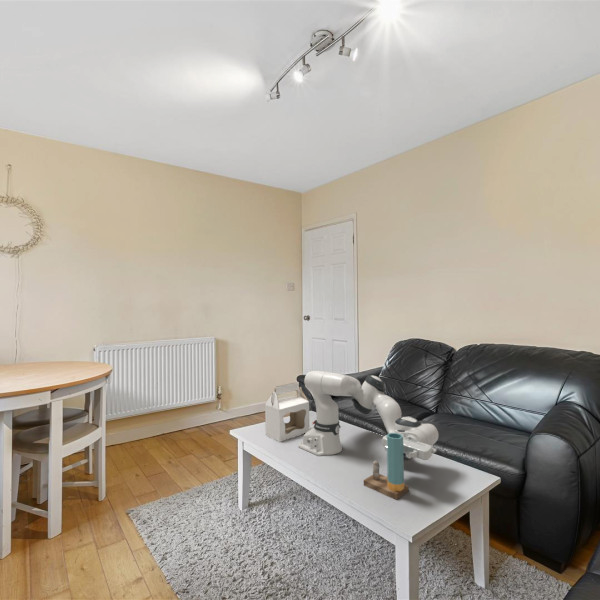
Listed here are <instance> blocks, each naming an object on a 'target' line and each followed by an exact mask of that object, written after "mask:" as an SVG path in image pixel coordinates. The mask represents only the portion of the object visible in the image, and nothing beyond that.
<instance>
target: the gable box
mask: <svg viewBox="0 0 600 600" xmlns="http://www.w3.org/2000/svg"><path fill="white" fill-rule="evenodd" d="M273 390H274V391H273V392H272V393H271V395H270V397H269V398H268V399H267V401H266V402H265V405H264V409H265V413H264V414H265V415H264V416H265V417H264V418H265V422H264V423H265V424H264V425H265V436H266V435H267V436H266V437H268V436H269V437H268V438H270V437H271V439H272V438H273V440H275V441H277V442H279V443H281V442H284V441H287V440H290V439H292V437H293V438H296V437H298V435H299V436H302V435H305V434H304V433H306V432H308V431H309V430H310V400H309V399H308V397H307V396H306V394H305V393H304V391H303V388H302V386H300V385H299V382H298V381H297V382H292V383H288V384H282V385H278V386H275V387H274V388H273ZM290 392H291V393H292V392H295V394H294V397H290V398H286V399H282V400H281V399H280V400H279V398H278V395H282V394H285V393H286V394H287V393H290ZM287 414H289V422H285V421H284V417H285V416H286V415H287ZM301 434H302V435H301ZM295 436H296V437H295ZM289 438H290V439H289ZM286 439H287V440H286ZM283 440H284V441H283Z"/></svg>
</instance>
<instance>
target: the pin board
mask: <svg viewBox="0 0 600 600" xmlns="http://www.w3.org/2000/svg"><path fill="white" fill-rule="evenodd" d="M363 486H364V487H367V488H369V489H372V490H373V491H376V492H379V493H380V494H382V495H385V496H387V497H389V498H391V499H394V500H395V501H396V500H398V499H399V498H401V497H402V496H404V495H405V494H406V493H408V492H409V485H408V484H405V483H404V489H403V490H401V491H393V490H391V489H389V488H388V483H387V476H386V475H383V474H381V473H380V463H379V461H378V460H374V461H372V475H370V476H368V477H366V478H365V479H363Z"/></svg>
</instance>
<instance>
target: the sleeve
mask: <svg viewBox="0 0 600 600" xmlns="http://www.w3.org/2000/svg"><path fill="white" fill-rule="evenodd" d="M386 435H387V451H386V468H387V469H386V470H387V472H386V474H387V476H386V477H387V483H388V488H389V489H391V490H393V491H401V490H403V489H404V484H405V473H404V472H405V471H404V470H405V469H404V464H405V463H404V461H405V460H404V459H403V436H402V435H401V434H398V433H389V434H388V433H387V434H386Z"/></svg>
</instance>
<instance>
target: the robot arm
mask: <svg viewBox="0 0 600 600" xmlns="http://www.w3.org/2000/svg"><path fill="white" fill-rule="evenodd" d="M303 383H304V386H305V388H306V389H307V390H308V391H309V393H310V394H311V396H312V397H313V401H314V404H315V410H316V419H315V420H314V421H312V423H311V425H313V427H312V428H309V431H308V432H306V433H305V434H303V440H302V441H300V442H299V444H298V448H300V449H301V450H305V451H307V452H309V453H311V454H314V455H316V456H319V457H320V456H325V455H326V456H331V455H332V456H333V455H336V454H340V453H341V452H342V451H343V447H342V443H341V438H340V428H341V427H340V428H339V425H340V420H339V406H338V403H336V401H335V400H333V399H332V396H335V397H352V398H351V402H352V404H353V405H352V406H353V407H354V410H356V411H357V412H359V414H363V415H369V414H370V413H371V412H372V411H373V409H374V407H375V408H376V411H377V412H378V414H379V416H380V418H381V420H382V422H383V424H384V428H385V430H386V433H387V434H389V433H398V434H401V435H402V436H403V459H404V461H410V460H412V459H413V458H418V459H420V460H422V461H427V460H429V459H430V458H432V456H433V454H435V453H436V452H437V449H436V448H435V447H434V446H433V445H434V444H436V443H437V441H438V440H439V431H438V429H437V427H436V426H435V425H434V424H432V423H421V421H420V420H418V419H416V418H414V417H412V416H409V415H407V416H402V409H401V407H400V405H399V403H398V402H397V400H395V399H394V398H393V397H391V396H389V395H387V394H386V393H385V392H386V387H385V384H384V381H383V380H382V379H381V378H380V377H379V376H376V375H372V374H370V375H367V376H366V377H365V379H364V382H363V383H362V384H361V382H360V380H359V379H357V378H356V377H353V376H350V375H347V374H342V373H339V372H331V371H323V370H312V371H311V370H310V371H308V372H307V373H306V374H305V376H304V382H303ZM387 434H386V435H384V436H383V437H382V446H383V447H384V451H386V452H387Z"/></svg>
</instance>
